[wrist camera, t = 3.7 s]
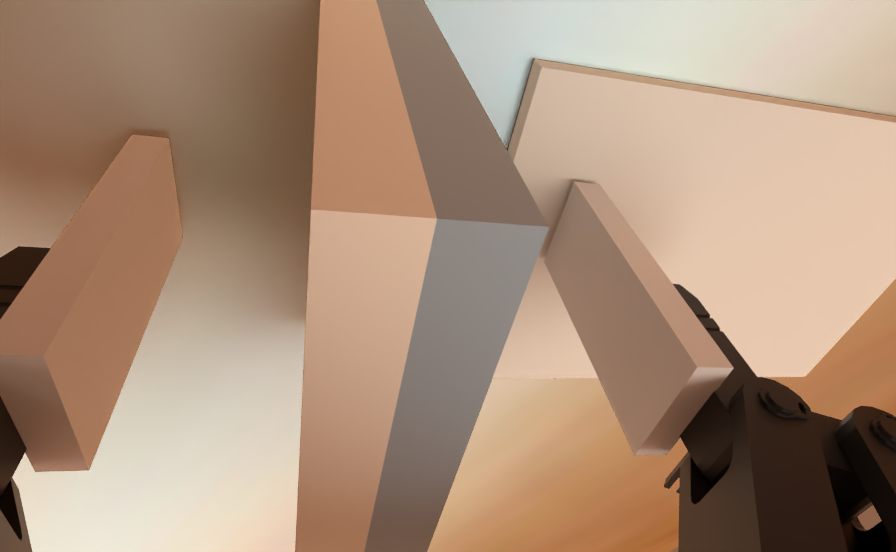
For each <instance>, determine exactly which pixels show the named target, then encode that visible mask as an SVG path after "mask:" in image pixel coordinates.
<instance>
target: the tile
mask: <svg viewBox="0 0 896 552" xmlns="http://www.w3.org/2000/svg"><path fill="white" fill-rule="evenodd" d="M548 229H549V226H548V224H547V222H546V220H545V218H544V217H543V215H542V213H541V211H540V209H539V208H538V206H537V204H536V202H535V200H534V199H533V197H532V195H531V193H530V191H529V190H528V188H527V186H526V184H525V182H524V181H523V179H522V177H521V175H520V173H519V172H518V170H517V168H516V166H515V164H514V163H513V161H512V159H511V157H510V155H509V154H508V152H507V150H506V148H505V146H504V144H503V143H502V141H501V139H500V137H499V135H498V134H497V132H496V130H495V128H494V126H493V125H492V123H491V121H490V119H489V117H488V116H487V114H486V112H485V110H484V108H483V107H482V105H481V103H480V101H479V99H478V98H477V96H476V94H475V92H474V90H473V89H472V87H471V85H470V83H469V81H468V79H467V78H466V76H465V74H464V72H463V70H462V69H461V67H460V65H459V63H458V61H457V60H456V58H455V56H454V54H453V52H452V51H451V49H450V47H449V45H448V43H447V42H446V40H445V38H444V36H443V34H442V33H441V31H440V29H439V27H438V25H437V24H436V22H435V20H434V18H433V16H432V14H431V13H430V11H429V9H428V7H427V5H426V4H425V2H424V0H320V19H319V41H318V63H317V85H316V107H315V129H314V150H313V172H312V194H311V216H310V238H309V260H308V282H307V304H306V326H305V348H304V370H303V392H302V414H301V436H300V458H299V480H298V502H297V524H296V546H295V552H427V550H428V548H429V545H430V542H431V540H432V537H433V534H434V532H435V529H436V526H437V524H438V521H439V518H440V516H441V513H442V510H443V508H444V505H445V503H446V500H447V497H448V495H449V492H450V489H451V487H452V484H453V481H454V479H455V476H456V473H457V471H458V468H459V465H460V463H461V460H462V457H463V455H464V452H465V449H466V447H467V444H468V441H469V439H470V436H471V433H472V431H473V428H474V425H475V423H476V420H477V417H478V415H479V412H480V410H481V407H482V404H483V402H484V399H485V396H486V394H487V391H488V388H489V386H490V383H491V380H492V378H493V375H494V372H495V370H496V367H497V364H498V362H499V359H500V356H501V354H502V351H503V348H504V346H505V343H506V340H507V338H508V335H509V332H510V330H511V327H512V324H513V322H514V319H515V317H516V314H517V311H518V309H519V306H520V303H521V301H522V298H523V295H524V293H525V290H526V287H527V285H528V282H529V279H530V277H531V274H532V271H533V269H534V266H535V263H536V261H537V258H538V255H539V253H540V250H541V247H542V245H543V242H544V239H545V237H546V234H547V231H548Z"/></svg>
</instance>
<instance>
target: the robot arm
mask: <svg viewBox="0 0 896 552" xmlns="http://www.w3.org/2000/svg"><path fill="white" fill-rule="evenodd" d="M182 238H183V235H182V228H181V221H180V213H179V206H178V199H177V192H176V184H175V177H174V170H173V162H172V155H171V148H170V140H169V138H162V137H152V136H143V135H134V134H132V135H131V136H130V138H129V139H128V141H127V142H126V143H125V145H124V146H123V148H122V149H121V150H120V152H119V153H118V155H117V156H116V157H115V159H114V160H113V162H112V163H111V164H110V166H109V167H108V169H107V170H106V172H105V173H104V174H103V176H102V177H101V179H100V180H99V181H98V183H97V184H96V186H95V187H94V188H93V190H92V191H91V193H90V194H89V195H88V197H87V198H86V200H85V201H84V202H83V204H82V205H81V207H80V208H79V210H78V211H77V212H76V214H75V215H74V217H73V218H72V219H71V221H70V222H69V224H68V225H67V226H66V228H65V229H64V231H63V232H62V233H61V235H60V236H59V238H58V239H57V241H56V242H55V243H54V245H53V246H52V248H36V247H20V246H19V247H17V248H15V249H14V250H12V251H10V252H9V253H7V254H6V255H4V256H2V257H1V258H0V552H32V549H31V544H30V539H29V535H28V530H27V526H26V521H25V516H24V512H23V507H22V503H21V498H20V493H19V489H18V487H17V486H16V484H15V482H14V480H13V478H12V476H13V474H14V472H15V470H16V468H17V467H18V465H19V463H20V461H21V459H22V457H23V455H24V453H26V455H27V457H28V459H29V461H30V462H31V464H32V466H33V468H34V470H35V472H43V471H80V470H89V469H90V467H91V464H92V462H93V459H94V457H95V454H96V452H97V449H98V447H99V444H100V442H101V439H102V437H103V434H104V432H105V429H106V427H107V424H108V422H109V419H110V417H111V414H112V412H113V409H114V407H115V404H116V402H117V399H118V397H119V394H120V392H121V389H122V387H123V384H124V382H125V379H126V377H127V375H128V372H129V370H130V367H131V365H132V362H133V360H134V357H135V355H136V352H137V350H138V347H139V345H140V342H141V340H142V337H143V335H144V332H145V330H146V327H147V325H148V322H149V320H150V317H151V315H152V312H153V310H154V307H155V305H156V302H157V300H158V297H159V295H160V292H161V290H162V287H163V285H164V283H165V280H166V278H167V275H168V273H169V270H170V268H171V265H172V263H173V260H174V258H175V255H176V253H177V250H178V248H179V245H180V243H181V240H182ZM544 263H545V265H546V267H547V269H548V271H549V273H550V275H551V278H552V280H553V282H554V284H555V286H556V288H557V290H558V293H559V295H560V297H561V299H562V301H563V303H564V305H565V308H566V310H567V312H568V314H569V316H570V318H571V320H572V323H573V325H574V327H575V329H576V331H577V333H578V335H579V337H580V340H581V342H582V344H583V346H584V348H585V350H586V352H587V355H588V357H589V359H590V361H591V363H592V365H593V367H594V370H595V372H596V374H597V376H598V378H599V380H600V382H601V385H602V387H603V389H604V391H605V393H606V395H607V397H608V400H609V402H610V404H611V406H612V408H613V410H614V412H615V414H616V417H617V419H618V421H619V423H620V425H621V427H622V429H623V432H624V434H625V436H626V438H627V440H628V442H629V444H630V447H631V449H632V451H633V453H634V455H635V456H639V455H667V454H668V452H669V451H670V450H671V449H672V447H673V446H674V445H675V443H676V442H677V441H678V440H679V438H680V437H681V439H682V441H683V443H684V444H685V446H686V448H687V450H688V452H687V454H686V455H685V456H684V457H683V459H682V460H681V461H680V462H679V464H678V465H677V466H676V467H675V468H674V470H673V471H672V472H671V473H670V475H669V476H668V477H667V478H666V481H665V484H664V487H666V488H668V489H669V488H670V487H671V486H672V485H673V483H674V482H675V481H676V480H677V479H678V478H680V487H679V489H678V490H677V493H679V494H680V497H679V552H896V417H894V416H893V415H891V414H889V413H887V412H885V411H882V410H879V409H877V408H874V407H867V406H860V407H858V408H856V409H854V410H853V411H852V412H851V413H849V414H848V415H847V416H846V417H845V418H844V419H843V420H839V419H835V418H832V417H828V416H825V415H821V414H817V413H814V412H811V410H810V407H809V406H808V405H807V404H806V403H805V402H804V401H803V400H802V398H801V397H800V396H798V395H797V394H796V393H795V392H793V391H792V390H791V389H789V388H788V387H786V386H784V385H782V384H780V383H778V382H776V381H774V380H771V379H767V378H763V377H757V376H756V374H755V373H754V372H753V370H752V369H751V368H750V366H749V365H748V364H747V363H746V361H745V360H744V359H743V357H742V356H741V355H740V353H739V352H738V351H737V349H736V348H735V347H734V345H733V344H732V343H731V342H730V340H729V339H728V338H727V336H726V335H725V334H724V332H723V331H720V327H719V326H718V324H717V323H716V322H715V321H714V319H713V318H710V314H709V313H708V311H707V310H706V309H705V307H704V306H703V305H702V303H701V302H700V301H699V300H698V298H696V297H695V296H694V295H693V294H691V293H690V292H689V291H688V290H686V289H685V288H684V287H683V286H681V285H680V284H672V283H671V281H670V280H669V278H668V277H667V276H666V274H665V273H664V272H663V270H662V269H661V267H660V266H659V265H658V263H657V262H656V261H655V259H654V258H653V257H652V255H651V254H650V252H649V251H648V250H647V248H646V247H645V246H644V244H643V243H642V241H641V240H640V239H639V237H638V236H637V235H636V233H635V232H634V231H633V229H632V228H631V226H630V225H629V224H628V222H627V221H626V220H625V218H624V217H623V215H622V214H621V213H620V211H619V210H618V209H617V207H616V206H615V205H614V203H613V202H612V200H611V199H610V198H609V196H608V195H607V194H606V192H605V191H604V189H603V188H602V187H601V185H600V184H593V183H584V182H574V184H573V186H572V189H571V191H570V194H569V197H568V199H567V202H566V205H565V207H564V210H563V212H562V215H561V218H560V220H559V223H558V226H557V228H556V231H555V234H554V236H553V239H552V241H551V244H550V247H549V249H548V252H547V255H546V257H545V260H544ZM872 505H874V507H875V509H876V510H877V513H878V514H879V516H880V518H881V520H882V521H881V522H880V523H878V524H877V525H876V526H874V527H873V528H871V529H870V530H865V529H864V527H863V526H862V525H861V524H860V521H859V520H858V517H857V516H859V515H860V514H861V513H863V512H864V511H865V510H866V509H868V508H869V507H870V506H872Z"/></svg>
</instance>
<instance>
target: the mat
mask: <svg viewBox="0 0 896 552" xmlns="http://www.w3.org/2000/svg"><path fill="white" fill-rule="evenodd" d="M507 152H508V154H509V155H510V157H511V159H512V161H513V163H514V164H515V166H516V168H517V170H518V172H519V173H520V175H521V177H522V179H523V181H524V182H525V184H526V186H527V188H528V190H529V191H530V193H531V195H532V197H533V199H534V200H535V202H536V204H537V206H538V208H539V209H540V211H541V213H542V215H543V217H544V218H545V220H546V222H547V224H548V226H549V229H548V231H547V234H546V237H545V239H544V242H543V245H542V247H541V250H540V253H539V255H538V258H537V261H536V263H535V266H534V269H533V271H532V274H531V277H530V279H529V282H528V285H527V287H526V290H525V293H524V295H523V298H522V301H521V303H520V306H519V309H518V311H517V314H516V317H515V319H514V322H513V324H512V327H511V330H510V332H509V335H508V338H507V340H506V343H505V346H504V348H503V351H502V354H501V356H500V359H499V362H498V364H497V367H496V370H495V372H494V375H493V378H492V379H498V378H598V376H597V374H596V372H595V370H594V367H593V365H592V363H591V361H590V359H589V357H588V355H587V352H586V350H585V348H584V346H583V344H582V342H581V340H580V337H579V335H578V333H577V331H576V329H575V327H574V325H573V323H572V320H571V318H570V316H569V314H568V312H567V310H566V308H565V305H564V303H563V301H562V299H561V297H560V295H559V293H558V290H557V288H556V286H555V284H554V282H553V280H552V278H551V275H550V273H549V271H548V269H547V267H546V265H545V263H544V260H545V257H546V255H547V252H548V249H549V247H550V244H551V241H552V239H553V236H554V234H555V231H556V228H557V226H558V223H559V220H560V218H561V215H562V212H563V210H564V207H565V205H566V202H567V199H568V197H569V194H570V191H571V189H572V186H573V184H574V182H584V183H593V184H600V185H601V187H602V188H603V189H604V191H605V192H606V194H607V195H608V196H609V198H610V199H611V200H612V202H613V203H614V205H615V206H616V207H617V209H618V210H619V211H620V213H621V214H622V215H623V217H624V218H625V220H626V221H627V222H628V224H629V225H630V226H631V228H632V229H633V231H634V232H635V233H636V235H637V236H638V237H639V239H640V240H641V241H642V243H643V244H644V246H645V247H646V248H647V250H648V251H649V252H650V254H651V255H652V257H653V258H654V259H655V261H656V262H657V263H658V265H659V266H660V267H661V269H662V270H663V272H664V273H665V274H666V276H667V277H668V278H669V280H670V281H671V283H672V284H680V285H681V286H683V287H684V288H685V289H686V290H688V291H689V292H690V293H691V294H693V295H694V296H695V297H696V298H698V300H699V301H700V302H701V303H702V305H703V306H704V307H705V309H706V310H707V311H708V313H709V314H710V318H713V319H714V321H715V322H716V323H717V324H718V326H719V327H720V331H723V332H724V334H725V335H726V336H727V338H728V339H729V340H730V342H731V343H732V344H733V345H734V347H735V348H736V349H737V351H738V352H739V353H740V355H741V356H742V357H743V359H744V360H745V361H746V363H747V364H748V365H749V366H750V368H751V369H752V370H753V372H754V373H755V374H756V376H757V377H805V376H806V375H807V374H808V373H809V372H810V371H811V370H812V369H813V368H814V366H815V365H816V364H817V363H818V362H819V361H820V360H821V359H822V358H823V357H824V356H825V355H826V353H827V352H828V351H829V350H830V349H831V348H832V347H833V346H834V345H835V344H836V343H837V341H838V340H839V339H840V338H841V337H842V336H843V335H844V334H845V333H846V332H847V331H848V330H849V328H850V327H851V326H852V325H853V324H854V323H855V322H856V321H857V320H858V319H859V318H860V317H861V315H862V314H863V313H864V312H865V311H866V310H867V309H868V308H869V307H870V306H871V305H872V303H873V302H874V301H875V300H876V299H877V298H878V297H879V296H880V295H881V294H882V293H883V292H884V290H885V289H886V288H887V287H888V286H889V285H890V284H891V283H892V282H893V281H894V280H895V279H896V117H894V116H888V115H881V114H875V113H869V112H863V111H856V110H850V109H844V108H838V107H832V106H825V105H819V104H813V103H807V102H800V101H794V100H788V99H782V98H776V97H769V96H763V95H757V94H751V93H744V92H738V91H732V90H726V89H720V88H713V87H707V86H701V85H695V84H688V83H682V82H676V81H670V80H664V79H657V78H651V77H645V76H639V75H632V74H626V73H620V72H614V71H608V70H601V69H595V68H589V67H583V66H576V65H570V64H564V63H558V62H552V61H545V60H539V59H534V61H533V65H532V68H531V72H530V75H529V79H528V82H527V86H526V89H525V92H524V96H523V99H522V103H521V106H520V110H519V113H518V117H517V120H516V124H515V127H514V131H513V134H512V137H511V141H510V144H509V148H508V151H507Z"/></svg>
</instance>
